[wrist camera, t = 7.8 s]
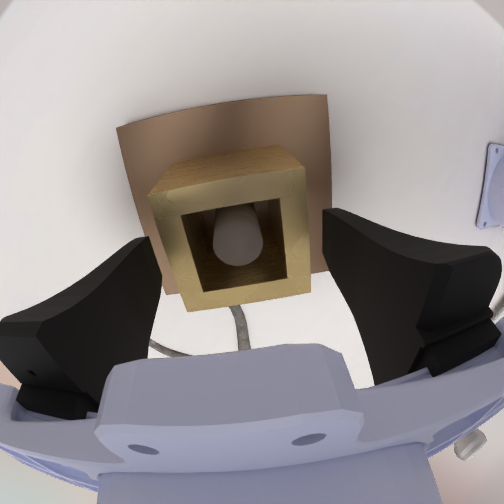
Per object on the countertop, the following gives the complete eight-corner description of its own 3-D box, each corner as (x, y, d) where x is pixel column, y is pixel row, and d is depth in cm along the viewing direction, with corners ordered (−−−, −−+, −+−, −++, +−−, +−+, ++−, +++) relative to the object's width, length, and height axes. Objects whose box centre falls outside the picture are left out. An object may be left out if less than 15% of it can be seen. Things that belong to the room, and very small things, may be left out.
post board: (317, 94, 13) (366, 95, 8) (323, 258, 19) (354, 317, 14) (125, 125, 13) (74, 142, 8) (169, 281, 19) (154, 346, 14)
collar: (279, 144, 14) (304, 167, 9) (289, 238, 16) (310, 292, 12) (172, 163, 14) (147, 195, 9) (195, 254, 16) (187, 312, 12)
